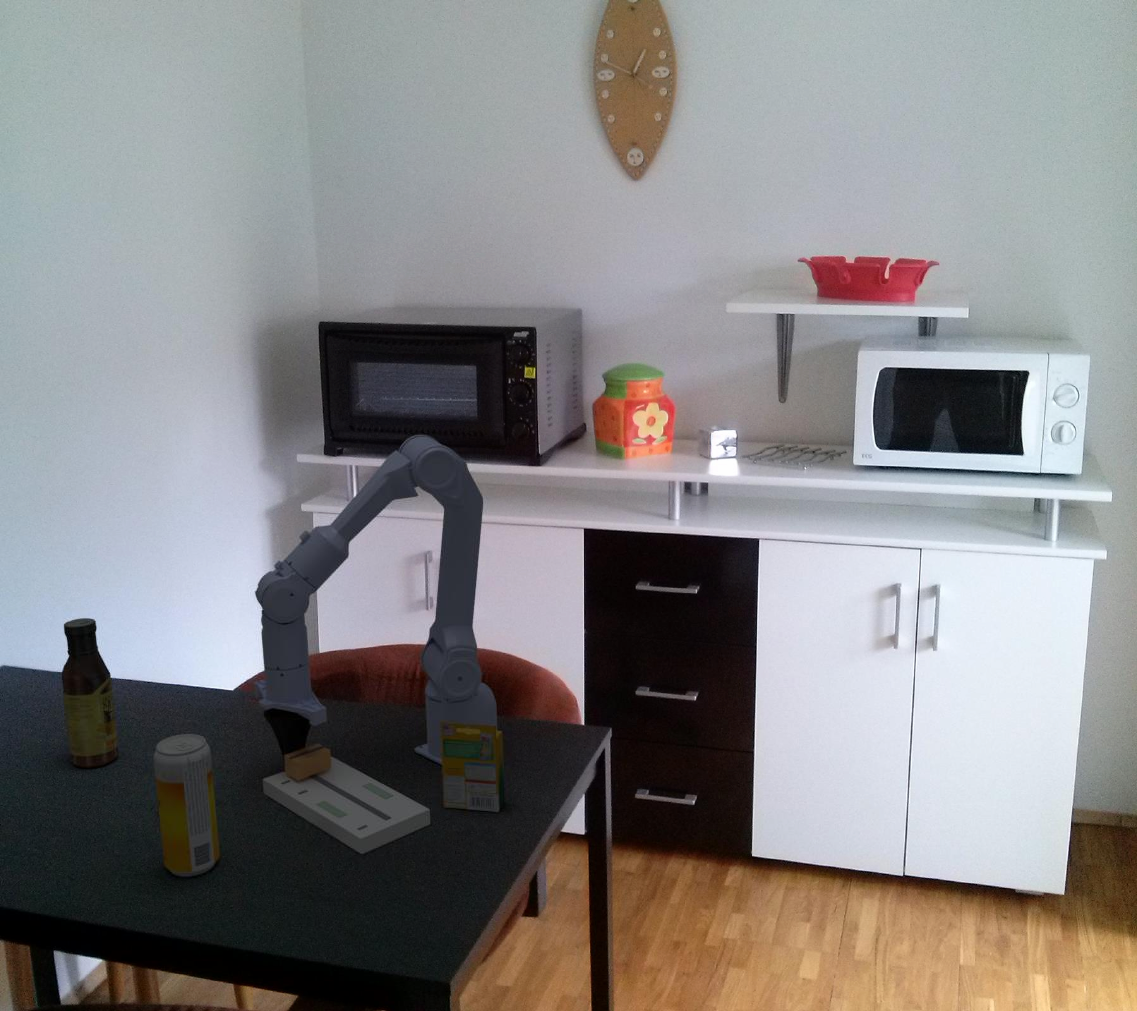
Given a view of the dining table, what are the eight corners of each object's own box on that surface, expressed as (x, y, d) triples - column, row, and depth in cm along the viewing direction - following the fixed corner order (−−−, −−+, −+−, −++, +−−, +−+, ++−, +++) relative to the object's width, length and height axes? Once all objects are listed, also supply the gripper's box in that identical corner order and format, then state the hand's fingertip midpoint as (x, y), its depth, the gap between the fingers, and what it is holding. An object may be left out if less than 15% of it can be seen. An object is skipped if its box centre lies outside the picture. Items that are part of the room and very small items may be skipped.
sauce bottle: (120, 765, 162) (105, 626, 158) (70, 773, 160) (54, 633, 156) (118, 746, 168) (104, 612, 164) (71, 754, 166) (55, 618, 162)
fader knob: (319, 760, 157) (317, 742, 156) (331, 767, 155) (330, 749, 154) (285, 773, 154) (283, 754, 153) (297, 780, 151) (296, 761, 151)
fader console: (329, 768, 160) (328, 754, 160) (430, 824, 145) (429, 808, 144) (263, 793, 154) (262, 778, 153) (361, 854, 138) (360, 837, 138)
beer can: (200, 846, 141) (189, 728, 137) (230, 862, 137) (220, 741, 133) (154, 867, 136) (141, 745, 133) (184, 885, 132) (172, 760, 129)
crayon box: (505, 802, 150) (503, 716, 148) (499, 813, 147) (496, 726, 145) (450, 797, 152) (446, 712, 149) (443, 808, 149) (439, 721, 146)
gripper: (230, 656, 156) (238, 752, 159) (289, 685, 146) (296, 787, 149) (278, 643, 161) (285, 737, 164) (338, 670, 151) (344, 769, 154)
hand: (293, 759), depth 157 cm, fingers closed
